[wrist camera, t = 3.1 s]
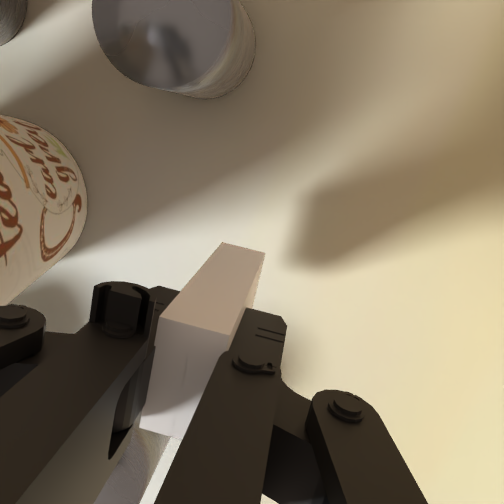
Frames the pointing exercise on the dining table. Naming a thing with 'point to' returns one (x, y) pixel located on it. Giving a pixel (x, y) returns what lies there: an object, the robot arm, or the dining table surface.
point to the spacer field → (170, 79)
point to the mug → (35, 204)
